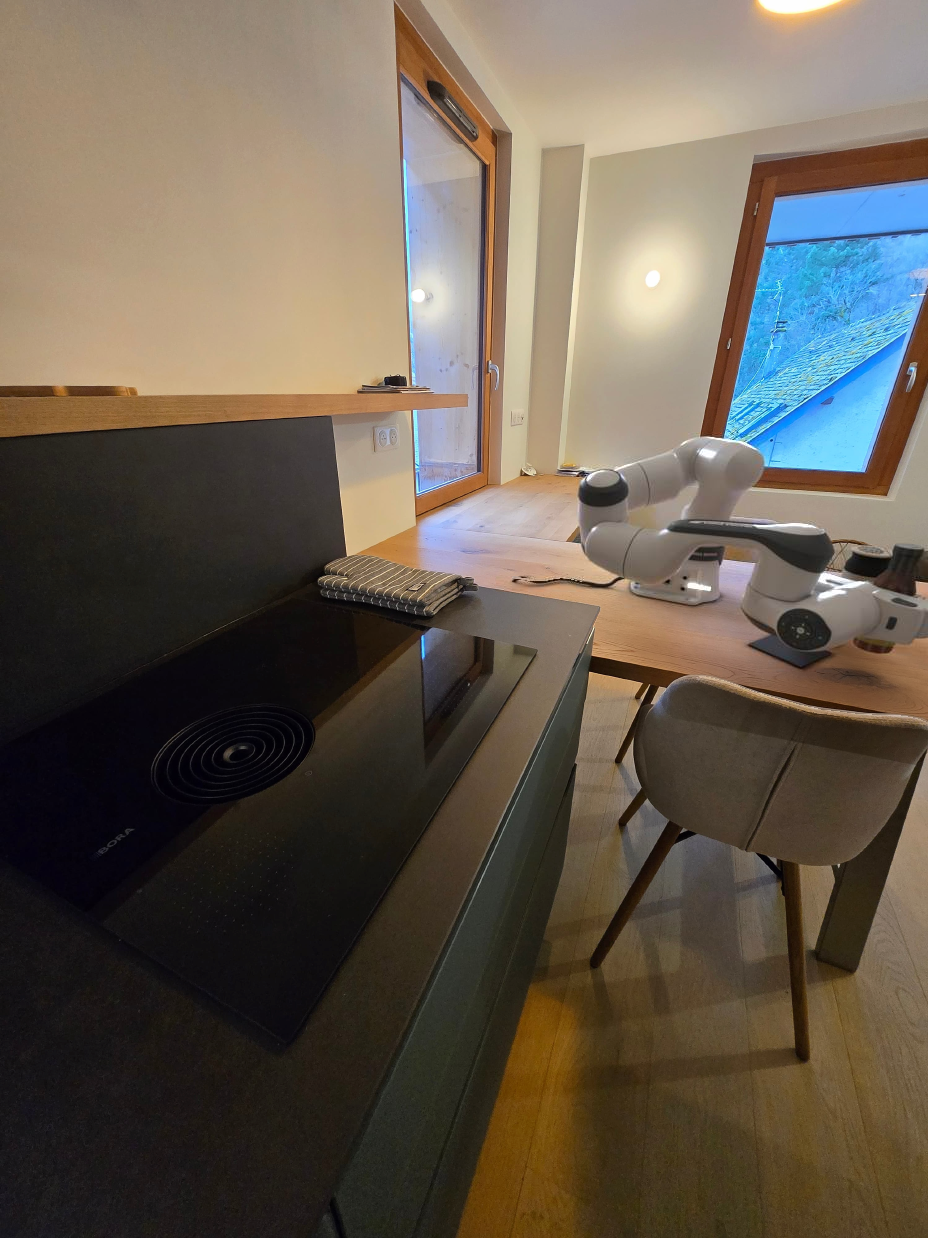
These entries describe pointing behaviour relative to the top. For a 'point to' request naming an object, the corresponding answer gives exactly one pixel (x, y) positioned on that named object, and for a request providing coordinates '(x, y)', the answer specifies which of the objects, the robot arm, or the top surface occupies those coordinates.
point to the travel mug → (866, 563)
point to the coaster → (787, 652)
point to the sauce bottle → (895, 587)
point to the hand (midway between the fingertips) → (894, 592)
